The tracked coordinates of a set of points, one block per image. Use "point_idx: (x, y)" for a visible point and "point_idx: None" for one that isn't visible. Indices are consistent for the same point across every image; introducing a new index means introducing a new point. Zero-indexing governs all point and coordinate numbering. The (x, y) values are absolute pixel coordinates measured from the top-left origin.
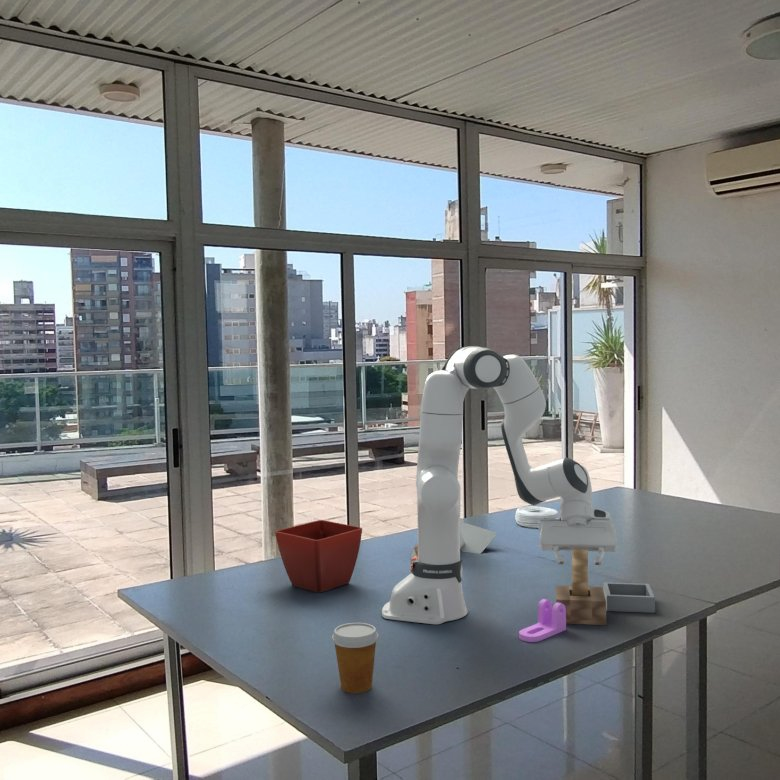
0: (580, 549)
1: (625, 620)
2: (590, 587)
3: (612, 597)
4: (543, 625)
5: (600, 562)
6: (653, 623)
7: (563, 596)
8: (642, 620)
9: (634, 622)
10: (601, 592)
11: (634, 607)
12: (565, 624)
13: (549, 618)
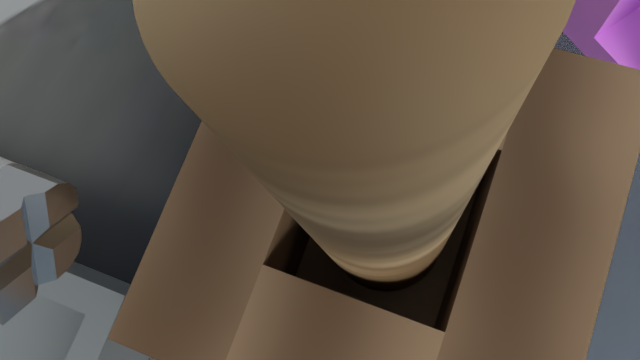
0: (271, 58)
1: (155, 114)
2: (219, 347)
3: (93, 282)
4: None
5: (2, 159)
6: (43, 47)
7: (568, 141)
8: (69, 98)
9: (126, 76)
10: (194, 183)
11: None
12: (574, 7)
13: None
